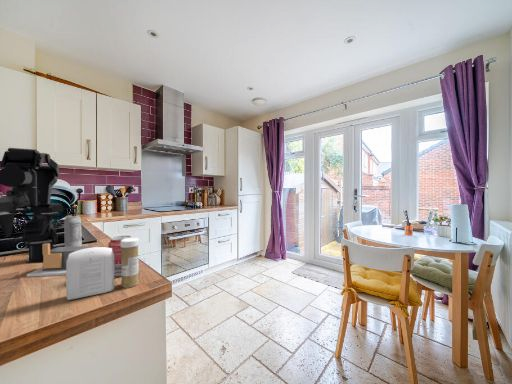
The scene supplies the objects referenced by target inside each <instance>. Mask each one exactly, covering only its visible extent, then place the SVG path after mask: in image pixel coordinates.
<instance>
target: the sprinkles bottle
mask: <svg viewBox="0 0 512 384" xmlns="http://www.w3.org/2000/svg"><path fill="white" fill-rule="evenodd" d="M139 242H140V241H139V238H138V237H131V238H127V239H123V240H121V251H122V252H121V255H122V259H121V275H122V276H121V284H120V286H121V288H125V289H127V288H132V287H135V286H137V285H139V283H140V281H139V244H140V243H139Z"/></svg>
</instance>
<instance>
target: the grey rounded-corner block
mask: <svg viewBox="0 0 512 384" xmlns="http://www.w3.org/2000/svg"><path fill="white" fill-rule="evenodd" d="M65 276H66V278H65V279H66V281H65V282H66V283H65V284H66V288H65V289H66V291H65V293H66V296H65V298H66V299H67V300H68V301H70V300H71V301H72V300H76V299H81V298H82V299H83V298H86V297H91V296H95V295H100V294H105V293H108V292H112V291H114V290H115V277H114V253H113V251H112V248H108V246H106V247H104V246H93V247H92V248H86V249H81V250H78V251H75V252H72V253H70V254H69V255H68V259H67V262H66V275H65Z"/></svg>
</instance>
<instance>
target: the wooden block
mask: <svg viewBox="0 0 512 384" xmlns="http://www.w3.org/2000/svg"><path fill="white" fill-rule="evenodd" d="M42 251H43V261H44V262H43V267H44V269H46V268H61V267H62V253H57V254H50V243H47V244H42Z"/></svg>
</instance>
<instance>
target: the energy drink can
mask: <svg viewBox="0 0 512 384" xmlns="http://www.w3.org/2000/svg"><path fill="white" fill-rule="evenodd" d="M63 222H64V223H63V226H64V227H63V228H64V229H63V230H64V231H63V233H64V235H63V236H64V247H76V246H83V240H82V239H83V236H82V235H83V234H82V230H83V229H82V228H83V227H82V219H81V217H80V216H79V215H72V216H71V215H70V216H66V217H65V219H64V221H63Z"/></svg>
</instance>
